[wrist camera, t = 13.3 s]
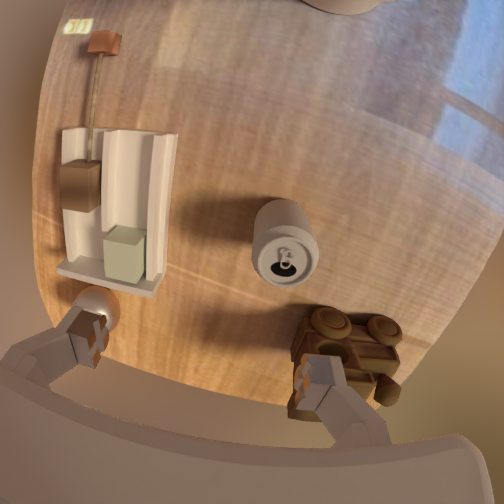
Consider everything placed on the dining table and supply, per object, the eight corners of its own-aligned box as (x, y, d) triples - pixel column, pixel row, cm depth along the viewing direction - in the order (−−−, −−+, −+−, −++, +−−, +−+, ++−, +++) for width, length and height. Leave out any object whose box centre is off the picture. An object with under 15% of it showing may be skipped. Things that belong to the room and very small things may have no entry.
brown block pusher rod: (100, 37, 29) (74, 30, 23) (129, 35, 29) (106, 25, 23) (84, 193, 40) (60, 208, 34) (111, 197, 41) (88, 213, 35)
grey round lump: (85, 267, 47) (57, 299, 38) (131, 288, 48) (108, 325, 40) (82, 302, 51) (58, 335, 42) (123, 322, 52) (104, 359, 43)
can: (249, 240, 43) (244, 286, 33) (260, 191, 40) (259, 224, 29) (299, 250, 44) (309, 299, 33) (313, 203, 40) (330, 240, 30)
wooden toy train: (281, 346, 53) (284, 422, 38) (300, 298, 48) (311, 377, 33) (375, 357, 54) (396, 423, 39) (401, 314, 49) (434, 382, 34)
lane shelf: (75, 126, 36) (47, 132, 30) (178, 133, 37) (161, 138, 30) (78, 253, 46) (57, 274, 40) (165, 273, 47) (152, 298, 40)
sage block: (118, 225, 41) (102, 239, 36) (148, 230, 41) (135, 246, 37) (119, 260, 43) (105, 276, 39) (147, 266, 44) (136, 284, 39)
